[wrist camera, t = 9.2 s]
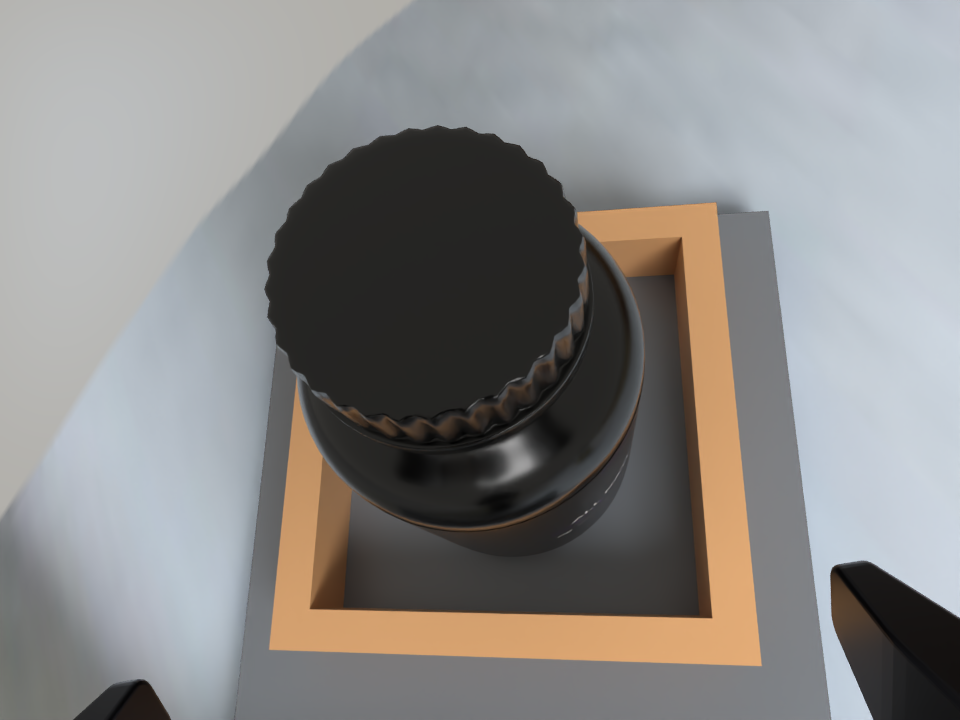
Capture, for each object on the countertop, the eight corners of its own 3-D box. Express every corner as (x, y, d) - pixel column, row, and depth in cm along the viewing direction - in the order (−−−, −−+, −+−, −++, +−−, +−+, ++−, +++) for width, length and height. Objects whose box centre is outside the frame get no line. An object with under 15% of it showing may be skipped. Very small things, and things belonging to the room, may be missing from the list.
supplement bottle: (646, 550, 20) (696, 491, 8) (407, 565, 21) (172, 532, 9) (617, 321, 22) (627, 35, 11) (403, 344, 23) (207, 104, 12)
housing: (848, 968, 17) (931, 1097, 13) (233, 907, 20) (126, 998, 15) (760, 229, 23) (796, 144, 19) (301, 258, 26) (239, 190, 22)
